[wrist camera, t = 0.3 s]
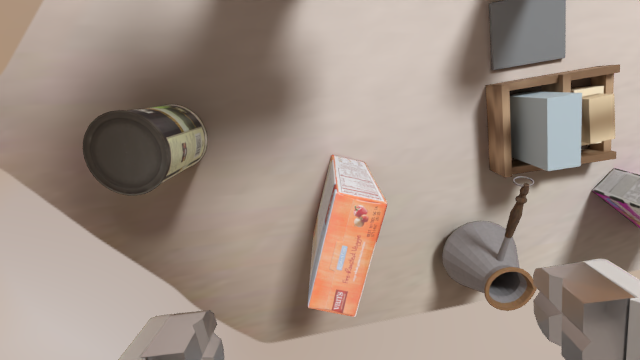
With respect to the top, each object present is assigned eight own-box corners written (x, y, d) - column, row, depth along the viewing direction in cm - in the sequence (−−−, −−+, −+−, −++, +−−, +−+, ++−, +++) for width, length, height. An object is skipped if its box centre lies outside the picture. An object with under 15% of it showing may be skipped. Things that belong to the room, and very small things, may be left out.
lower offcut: (558, 90, 52) (573, 90, 49) (585, 85, 52) (603, 85, 49) (557, 143, 54) (572, 146, 51) (584, 139, 54) (601, 142, 51)
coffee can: (131, 116, 55) (66, 126, 41) (192, 95, 54) (146, 98, 40) (159, 177, 57) (105, 205, 44) (217, 158, 56) (181, 182, 43)
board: (503, 96, 53) (547, 98, 42) (530, 91, 52) (582, 92, 42) (505, 154, 55) (547, 171, 44) (531, 150, 55) (580, 166, 44)
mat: (489, 3, 49) (491, 2, 49) (562, -10, 49) (565, -11, 48) (491, 70, 52) (493, 69, 51) (562, 58, 51) (565, 57, 50)
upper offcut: (573, 98, 49) (588, 99, 46) (597, 93, 49) (614, 93, 46) (575, 140, 51) (590, 143, 48) (598, 135, 51) (615, 138, 48)
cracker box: (347, 241, 59) (356, 321, 39) (312, 233, 59) (303, 309, 39) (368, 161, 56) (390, 204, 36) (331, 153, 56) (332, 191, 35)
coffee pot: (504, 276, 60) (560, 336, 46) (436, 279, 61) (470, 339, 46) (514, 153, 55) (580, 177, 40) (439, 157, 55) (478, 183, 41)
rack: (485, 85, 52) (501, 85, 47) (598, 66, 51) (626, 64, 46) (489, 169, 55) (505, 177, 51) (595, 153, 54) (621, 160, 50)
